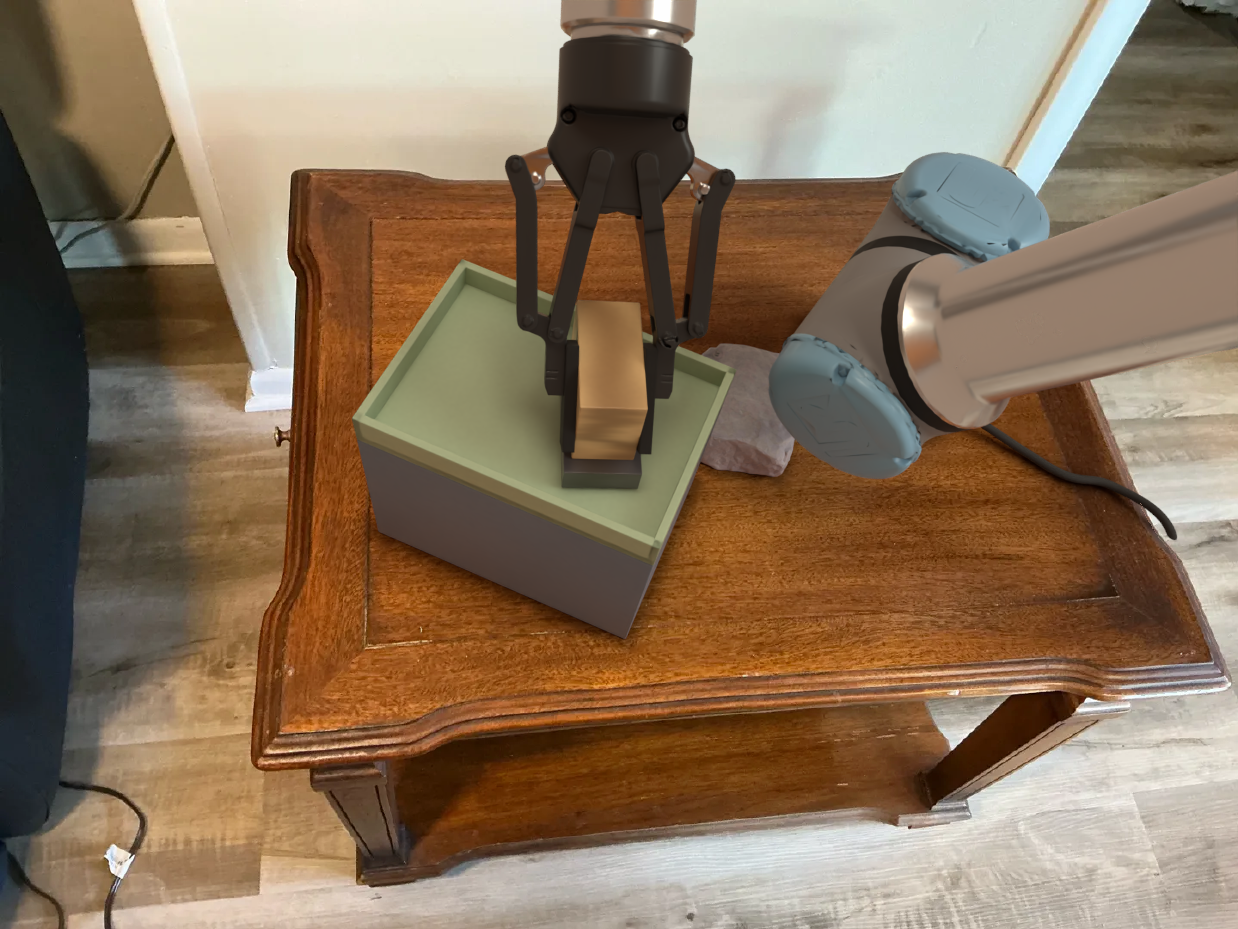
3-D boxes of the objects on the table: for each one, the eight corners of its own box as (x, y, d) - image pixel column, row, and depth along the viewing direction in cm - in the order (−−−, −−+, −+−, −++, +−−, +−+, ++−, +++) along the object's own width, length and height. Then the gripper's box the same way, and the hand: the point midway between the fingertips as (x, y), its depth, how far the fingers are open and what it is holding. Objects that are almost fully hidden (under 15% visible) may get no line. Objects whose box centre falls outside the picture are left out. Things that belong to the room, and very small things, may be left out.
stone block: (675, 471, 81) (790, 485, 79) (673, 439, 77) (795, 452, 76) (694, 368, 88) (801, 378, 86) (693, 333, 84) (806, 343, 82)
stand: (691, 483, 79) (728, 390, 67) (625, 639, 71) (653, 566, 59) (466, 389, 81) (462, 282, 69) (378, 531, 73) (356, 439, 61)
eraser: (630, 364, 66) (647, 290, 59) (637, 489, 61) (657, 424, 54) (559, 361, 65) (568, 286, 58) (561, 487, 60) (571, 421, 53)
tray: (728, 390, 67) (737, 369, 65) (653, 566, 59) (659, 549, 57) (462, 282, 69) (461, 258, 66) (356, 439, 61) (351, 418, 59)
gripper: (757, 65, 57) (724, 437, 63) (474, 42, 54) (468, 430, 60) (794, 44, 49) (753, 467, 56) (469, 17, 47) (463, 460, 53)
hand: (604, 447), depth 58 cm, fingers closed on eraser, 4 cm apart
